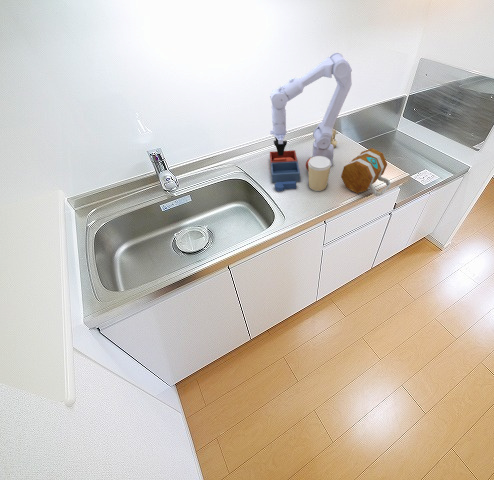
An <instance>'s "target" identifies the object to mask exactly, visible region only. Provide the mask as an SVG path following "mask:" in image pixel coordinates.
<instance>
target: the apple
mask: <svg viewBox="0 0 494 480" xmlns="http://www.w3.org/2000/svg"><path fill="white" fill-rule="evenodd" d="M311 158H312V157H311V156H310V157H309V158H308V159H307V161H306V162H305V169H306V171H307V172H308V173H309V170H308V162H309V160H310V159H311Z"/></svg>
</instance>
